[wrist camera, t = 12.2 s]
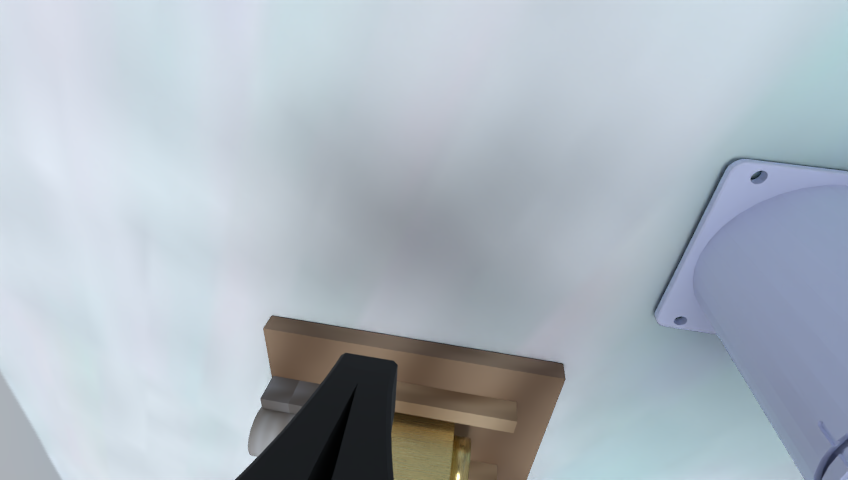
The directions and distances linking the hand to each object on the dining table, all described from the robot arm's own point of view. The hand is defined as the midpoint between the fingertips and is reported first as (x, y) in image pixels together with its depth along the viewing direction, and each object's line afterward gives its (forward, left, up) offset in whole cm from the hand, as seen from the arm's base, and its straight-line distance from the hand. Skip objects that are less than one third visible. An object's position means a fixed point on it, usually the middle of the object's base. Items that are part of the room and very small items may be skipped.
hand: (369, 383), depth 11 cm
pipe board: (0, +14, -9) cm, 17 cm away
